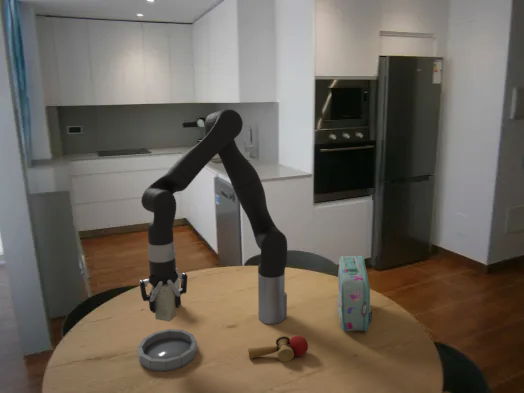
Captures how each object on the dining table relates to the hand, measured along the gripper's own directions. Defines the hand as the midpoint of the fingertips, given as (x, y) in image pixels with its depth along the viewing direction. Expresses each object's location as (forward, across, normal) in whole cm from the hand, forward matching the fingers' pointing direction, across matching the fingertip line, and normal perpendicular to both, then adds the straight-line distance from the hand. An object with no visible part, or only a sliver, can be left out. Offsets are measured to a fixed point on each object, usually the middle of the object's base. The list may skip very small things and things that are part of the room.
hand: (165, 309), depth 123 cm
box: (+3, 0, 0) cm, 3 cm away
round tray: (+15, 0, 0) cm, 15 cm away
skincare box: (+15, -7, -32) cm, 36 cm away
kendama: (+15, -30, +15) cm, 37 cm away
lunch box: (+15, -64, +6) cm, 66 cm away
